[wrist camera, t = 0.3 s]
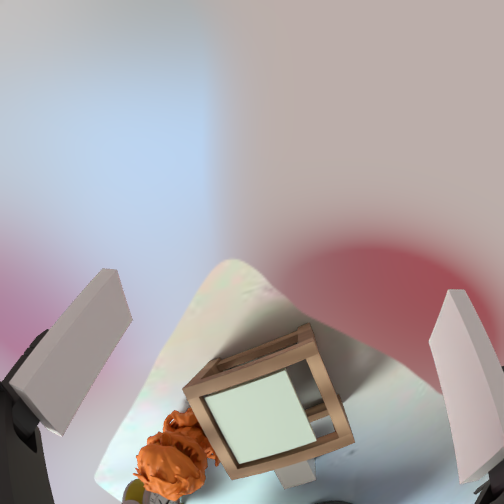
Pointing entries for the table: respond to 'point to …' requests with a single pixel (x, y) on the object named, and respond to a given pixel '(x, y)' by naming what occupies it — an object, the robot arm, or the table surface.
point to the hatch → (261, 417)
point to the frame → (218, 379)
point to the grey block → (297, 474)
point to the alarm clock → (143, 495)
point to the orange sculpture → (176, 457)
